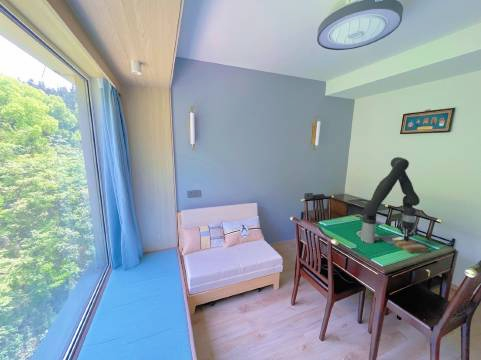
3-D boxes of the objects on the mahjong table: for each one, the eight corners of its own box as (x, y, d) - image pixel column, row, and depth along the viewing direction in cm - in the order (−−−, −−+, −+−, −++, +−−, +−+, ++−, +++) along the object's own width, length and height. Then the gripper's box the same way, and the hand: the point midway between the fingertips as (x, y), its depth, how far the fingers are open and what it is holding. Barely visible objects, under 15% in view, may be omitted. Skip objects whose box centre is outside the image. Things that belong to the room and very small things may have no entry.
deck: (394, 244, 158) (394, 240, 157) (410, 243, 159) (410, 239, 158) (410, 253, 144) (411, 248, 143) (427, 252, 145) (428, 247, 144)
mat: (376, 236, 173) (376, 236, 173) (397, 235, 174) (397, 235, 174) (389, 243, 159) (389, 243, 159) (411, 242, 160) (411, 242, 160)
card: (392, 240, 164) (392, 238, 165) (399, 240, 164) (398, 237, 165) (401, 239, 156) (400, 237, 156) (408, 239, 156) (407, 236, 157)
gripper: (396, 217, 158) (394, 236, 161) (411, 223, 145) (409, 244, 148) (405, 217, 159) (402, 236, 161) (421, 223, 146) (418, 244, 148)
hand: (406, 240), depth 155 cm, fingers closed
